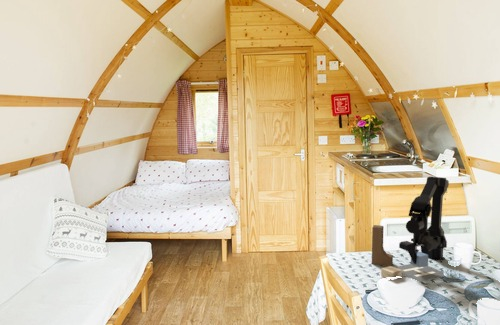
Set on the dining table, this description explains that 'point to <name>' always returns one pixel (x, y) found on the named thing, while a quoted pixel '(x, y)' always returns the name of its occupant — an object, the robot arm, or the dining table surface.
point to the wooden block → (379, 248)
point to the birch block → (391, 272)
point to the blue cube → (421, 260)
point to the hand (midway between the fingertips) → (419, 262)
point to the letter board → (420, 272)
